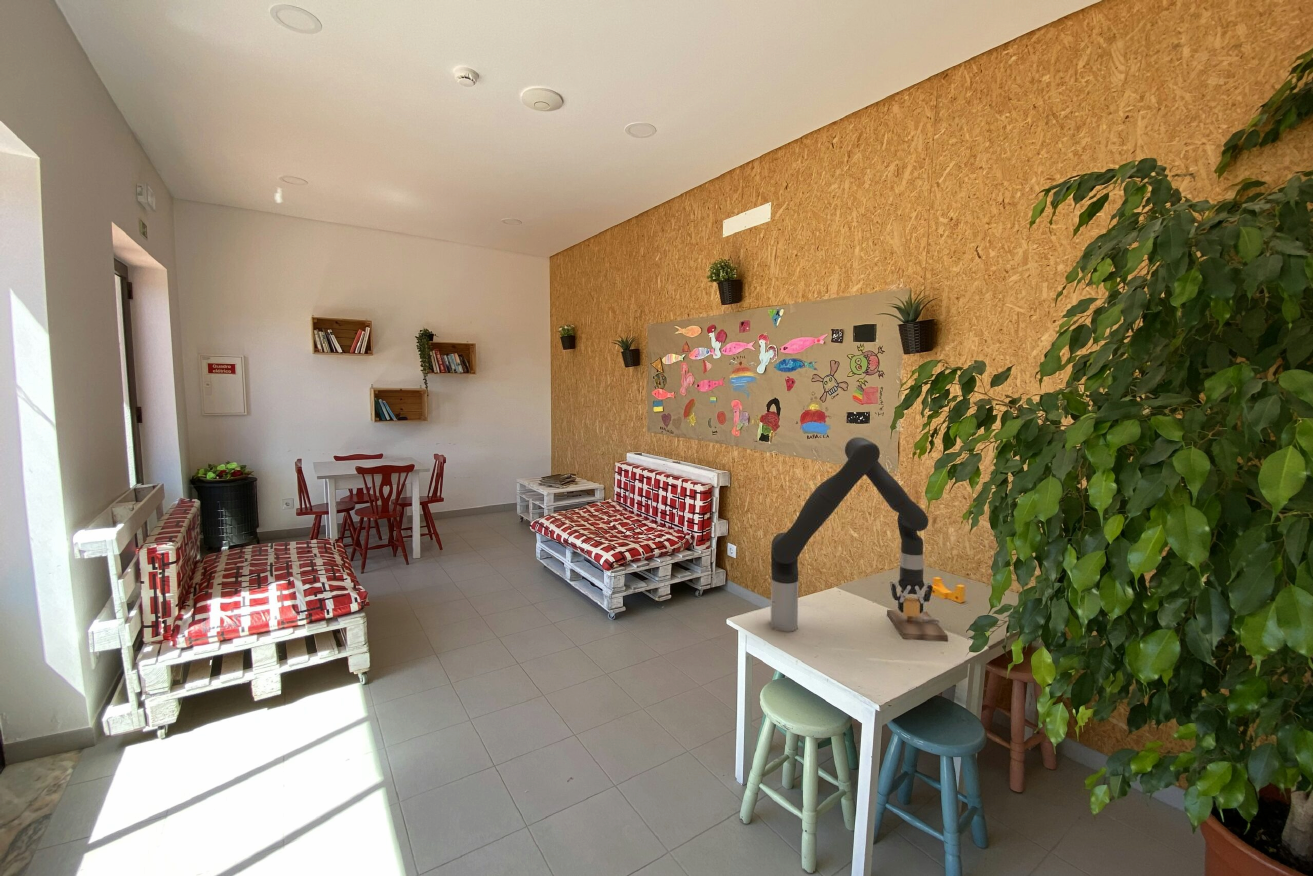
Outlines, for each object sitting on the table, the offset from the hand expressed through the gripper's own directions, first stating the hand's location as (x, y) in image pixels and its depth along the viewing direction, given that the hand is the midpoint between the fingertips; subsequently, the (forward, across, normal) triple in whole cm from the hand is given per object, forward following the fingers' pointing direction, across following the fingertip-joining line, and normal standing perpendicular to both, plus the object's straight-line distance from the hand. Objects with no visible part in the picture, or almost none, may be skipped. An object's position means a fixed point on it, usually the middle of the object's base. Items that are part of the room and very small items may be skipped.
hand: (910, 612), depth 190 cm
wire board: (+6, +2, 0) cm, 6 cm away
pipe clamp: (+6, +24, +32) cm, 40 cm away
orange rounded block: (0, 0, 0) cm, 0 cm away
